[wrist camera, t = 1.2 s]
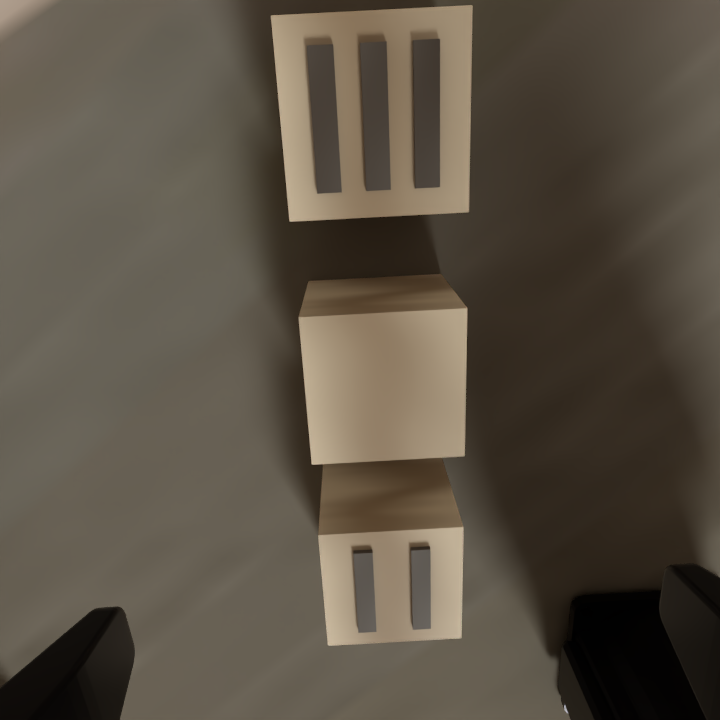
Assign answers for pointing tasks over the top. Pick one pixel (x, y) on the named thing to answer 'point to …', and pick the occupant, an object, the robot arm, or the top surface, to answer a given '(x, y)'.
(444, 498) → the two mark block
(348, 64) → the three mark block
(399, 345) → the plain block
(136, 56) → the top surface
